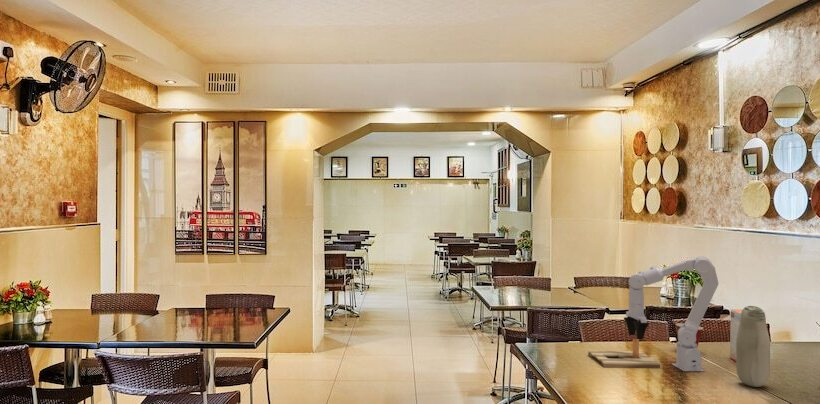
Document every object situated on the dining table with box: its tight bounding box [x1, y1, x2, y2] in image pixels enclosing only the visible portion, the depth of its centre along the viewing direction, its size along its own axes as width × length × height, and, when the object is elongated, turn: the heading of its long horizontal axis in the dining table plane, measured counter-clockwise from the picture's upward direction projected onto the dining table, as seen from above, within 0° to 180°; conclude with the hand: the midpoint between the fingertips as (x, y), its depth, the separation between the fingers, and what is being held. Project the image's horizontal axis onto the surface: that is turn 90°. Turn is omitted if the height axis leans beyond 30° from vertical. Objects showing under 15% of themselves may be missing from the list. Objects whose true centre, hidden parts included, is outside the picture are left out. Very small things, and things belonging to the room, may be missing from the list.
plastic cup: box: [675, 322, 704, 348], centre depth 242 cm, size 11×11×12 cm
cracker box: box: [729, 308, 743, 363], centre depth 226 cm, size 14×6×21 cm, turn 168°
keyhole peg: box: [632, 338, 640, 358], centre depth 225 cm, size 5×5×9 cm
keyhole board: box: [587, 350, 661, 369], centre depth 225 cm, size 18×22×2 cm
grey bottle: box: [735, 305, 771, 388], centre depth 196 cm, size 10×10×28 cm
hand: (635, 337), depth 225 cm, fingers open, 7 cm apart
